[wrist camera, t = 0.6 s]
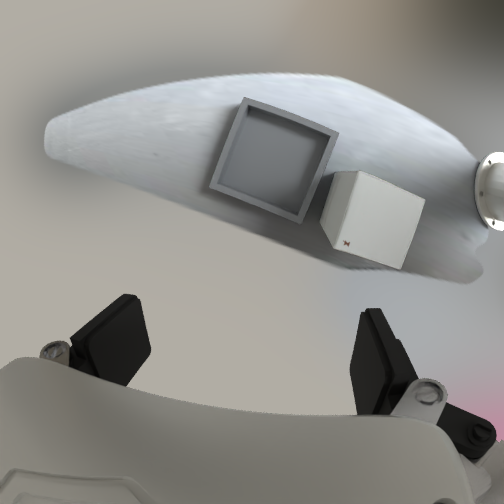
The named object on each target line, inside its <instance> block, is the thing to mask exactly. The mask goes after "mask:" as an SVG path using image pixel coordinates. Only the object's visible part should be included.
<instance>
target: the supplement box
mask: <svg viewBox="0 0 504 504" xmlns="http://www.w3.org/2000/svg"><path fill="white" fill-rule="evenodd" d="M424 203H425V199H423V198H421V197H419V196H417V195H415V194H413V193H410V192H408V191H406V190H404V189H402V188H400V187H398V186H396V185H394V184H391V183H389V182H387V181H385V180H382V179H380V178H378V177H376V176H373V175H371V174H368V173H366V172H363V171H361V170H358V171H341V172H335V174H334V177H333V180H332V183H331V186H330V190H329V193H328V196H327V199H326V203H325V206H324V209H323V212H322V215H321V219H320V222H319V223H320V224H321V226H322V228H323V230H324V232H325V234H326V235H327V237H328V239H329V241H330V243H331V245H332V247H333V248H334V249H336V250H340V251H343V252H346V253H349V254H353V255H356V256H359V257H362V258H366V259H369V260H372V261H375V262H378V263H381V264H384V265H387V266H390V267H393V268H396V269H399V270H400V269H401V267H402V265H403V262H404V260H405V257H406V254H407V252H408V249H409V247H410V244H411V242H412V239H413V236H414V233H415V230H416V228H417V225H418V222H419V219H420V216H421V213H422V210H423V207H424Z"/></svg>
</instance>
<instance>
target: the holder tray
mask: <svg viewBox="0 0 504 504" xmlns="http://www.w3.org/2000/svg"><path fill="white" fill-rule="evenodd" d="M338 135H339V133H338V132H336V131H334V130H331V129H329V128H327V127H325V126H322V125H320V124H318V123H315V122H313V121H310V120H308V119H305V118H303V117H300V116H298V115H295V114H293V113H290V112H287V111H285V110H282V109H279V108H276V107H273V106H271V105H268V104H265V103H262V102H259V101H255V100H252V99H249V98H246V97H244V98H243V100H242V103H241V105H240V107H239V110H238V112H237V115H236V117H235V119H234V122H233V124H232V127H231V129H230V132H229V134H228V137H227V140H226V142H225V145H224V147H223V150H222V153H221V155H220V158H219V161H218V163H217V166H216V169H215V171H214V174H213V177H212V180H211V182H210V185H209V188H212V189H214V190H217V191H219V192H222V193H225V194H227V195H230V196H232V197H235V198H237V199H240V200H242V201H245V202H247V203H250V204H252V205H255V206H257V207H260V208H262V209H265V210H267V211H270V212H272V213H274V214H277V215H279V216H282V217H284V218H286V219H289V220H291V221H293V222H296V223H298V224H300V225H301V224H302V221H303V219H304V217H305V214H306V212H307V210H308V208H309V205H310V203H311V201H312V198H313V196H314V194H315V191H316V189H317V186H318V184H319V182H320V179H321V177H322V175H323V172H324V170H325V167H326V165H327V162H328V160H329V158H330V155H331V153H332V150H333V148H334V145H335V143H336V140H337V138H338Z"/></svg>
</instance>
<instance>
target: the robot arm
mask: <svg viewBox="0 0 504 504" xmlns="http://www.w3.org/2000/svg"><path fill="white" fill-rule="evenodd" d="M475 199H476V205H477V208H478V211H479V214H480V216H481V218H482V219H483V221H484V222H485V223H486V224H487V225H488V226H489V227H491V228H493V229H495V230H504V153H502V152H492V153H489V154H488V155H486V156H485V157H484V158H483V160H482V161H481V163H480V165H479V167H478V170H477V173H476V178H475ZM70 340H71V342H72V346H71V347H70V346H69V344H68V343H67V342H65V341H54V342H51V343H49V344H47V345H46V346H44V347H43V348H42V350H41V352H40V357H39V358H35V357H23V358H17V359H15V360H13V361H11V362H10V363H9V364H7V365H6V366H4V367H3V368H2V369H0V504H504V441H503V440H501V441H500V442H498V441H497V440H496V430H495V428H494V426H493V425H492V424H491V423H490V422H489V421H487V420H485V419H483V418H481V417H478V416H476V415H474V414H471V413H469V412H467V411H464V410H462V409H460V408H458V407H455V406H453V405H451V404H449V403H447V402H446V401H447V396H448V394H447V390H446V389H445V387H444V386H443V385H442V384H441V383H440V382H438V381H436V380H433V379H429V378H422V379H419V378H418V376H417V374H416V372H415V370H414V368H413V365H412V364H411V361H410V359H409V357H408V355H407V353H406V351H405V349H404V347H403V345H402V343H401V341H400V340H399V339H396V338H395V336H394V334H393V332H392V330H391V328H390V326H389V324H388V322H387V320H386V318H385V316H384V314H383V312H382V310H381V309H380V308H367V309H366V310H365V312H361V315H360V320H359V325H358V330H357V335H356V341H355V345H354V350H353V355H352V359H351V363H350V376H351V381H352V386H353V392H354V397H355V404H356V410H357V415H291V414H273V413H262V412H252V411H243V410H234V409H227V408H220V407H214V406H208V405H202V404H197V403H191V402H186V401H181V400H176V399H172V398H167V397H163V396H159V395H155V394H150V393H147V392H143V391H139V390H136V389H132V388H129V387H126V386H127V385H128V383H129V382H130V380H131V379H132V378H133V377H134V375H135V374H136V373H137V371H138V370H139V368H140V367H141V366H142V364H143V363H144V362H145V361H146V359H147V358H148V357H149V355H150V353H151V346H150V342H149V338H148V333H147V329H146V325H145V320H144V315H143V311H142V306H141V301H140V299H138V298H137V296H136V295H131V294H123V295H122V296H120V297H119V298H118V299H116V300H115V301H114V302H113V303H111V304H110V305H109V306H108V307H107V308H105V309H104V310H103V311H102V312H100V313H99V314H98V315H97V316H95V317H94V318H93V319H92V320H91V321H89V322H88V323H87V324H86V325H84V326H83V327H82V328H81V329H80V330H79V331H77V332H76V333H75V334H74V335H73V336H71V337H70Z"/></svg>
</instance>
